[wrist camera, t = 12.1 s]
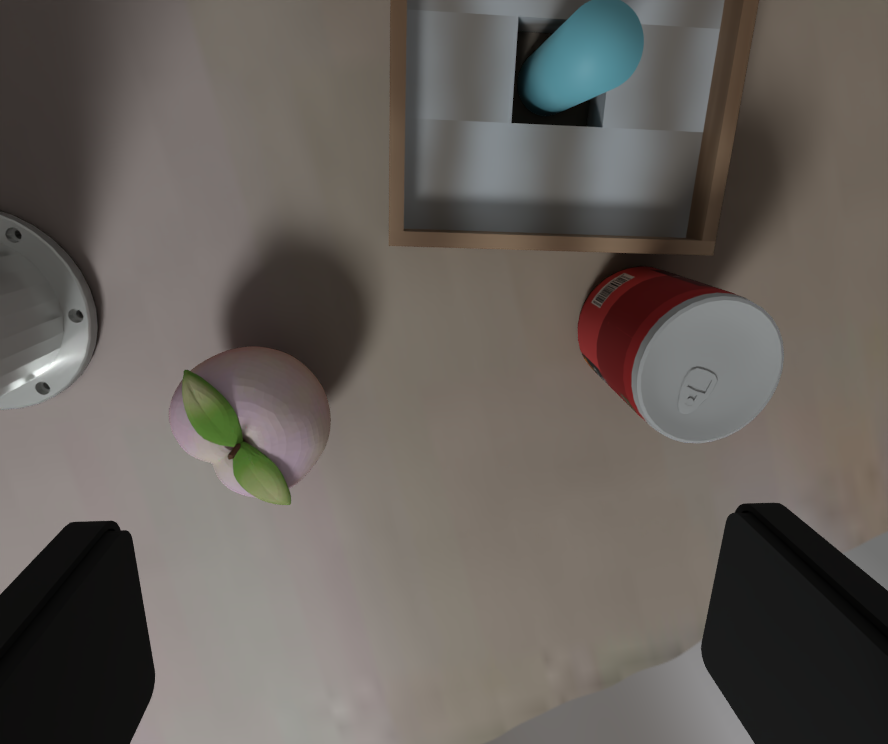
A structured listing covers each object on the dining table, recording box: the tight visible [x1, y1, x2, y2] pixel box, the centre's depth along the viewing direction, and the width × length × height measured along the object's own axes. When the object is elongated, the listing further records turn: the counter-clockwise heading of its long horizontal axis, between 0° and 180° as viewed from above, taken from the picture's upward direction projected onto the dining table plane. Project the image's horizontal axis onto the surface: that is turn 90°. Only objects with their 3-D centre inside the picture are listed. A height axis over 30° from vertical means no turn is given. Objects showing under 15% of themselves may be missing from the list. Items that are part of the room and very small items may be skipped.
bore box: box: [389, 0, 759, 256], centre depth 32 cm, size 19×19×5 cm
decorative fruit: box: [169, 346, 331, 505], centre depth 34 cm, size 9×8×10 cm
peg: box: [517, 0, 644, 116], centre depth 30 cm, size 4×4×10 cm
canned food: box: [578, 266, 784, 443], centre depth 34 cm, size 8×8×11 cm
